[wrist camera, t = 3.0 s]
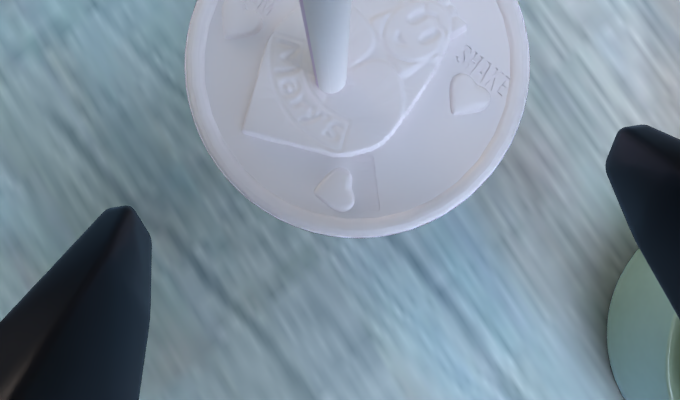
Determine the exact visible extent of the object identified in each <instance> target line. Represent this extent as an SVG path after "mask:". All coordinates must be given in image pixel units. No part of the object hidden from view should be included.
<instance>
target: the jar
mask: <svg viewBox="0 0 680 400" xmlns="http://www.w3.org/2000/svg"><path fill="white" fill-rule="evenodd" d="M607 348H608V354H609V361H610V365H611V368H612V371H613V375H614V378H615V381H616V383H617V385H618V387H619V390H620V392H621V394H622V396H623V397H624V399H625V400H680V319H679V318H678V316H677V314H676V312H675V311H674V309H673V307H672V305H671V303H670V302H669V300H668V298H667V296H666V295H665V293H664V291H663V289H662V288H661V286H660V284H659V282H658V281H657V279H656V277H655V275H654V274H653V272H652V270H651V268H650V267H649V265H648V263H647V261H646V259H645V258H644V256H643V254H642V252H641V251H640V249H638V250H637V251H636V252H635V254H634V255H633V256H632V258H631V259H630V261H629V262H628V263H627V265H626V267H625V268H624V270H623V272H622V274H621V276H620V278H619V280H618V282H617V285H616V287H615V290H614V293H613V295H612V299H611V303H610V308H609V312H608V321H607Z"/></svg>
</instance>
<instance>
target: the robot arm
mask: <svg viewBox="0 0 680 400" xmlns="http://www.w3.org/2000/svg"><path fill="white" fill-rule="evenodd" d="M606 173H607V176H608V178H609V180H610V183H611V185H612V188H613V190H614V192H615V195H616V197H617V199H618V202H619V204H620V207H621V209H622V211H623V214H624V216H625V218H626V221H627V223H628V226H629V228H630V230H631V232H632V235H633V237H634V239H635V241H636V243H637V245H638V247H639V249H640V251H641V252H642V254H643V256H644V258H645V259H646V261H647V263H648V265H649V267H650V268H651V270H652V272H653V274H654V275H655V277H656V279H657V281H658V282H659V284H660V286H661V288H662V289H663V291H664V293H665V295H666V296H667V298H668V300H669V302H670V303H671V305H672V307H673V309H674V311H675V312H676V314H677V316H678V318H679V319H680V139H677V138H675V137H673V136H670V135H668V134H666V133H664V132H661V131H659V130H657V129H655V128H652V127H650V126H648V125H636V126H630V127H624V128H622V129H620V130H619V131H618V133H617V135H616V137H615V140H614V142H613V145H612V147H611V150H610V152H609V155H608V157H607V160H606ZM151 259H152V243H151V237H150V235H149V233H148V231H147V229H146V228H145V226H144V224H143V223H142V221H141V219H140V218H139V216H138V215H137V213H136V211H135V210H134V209H133V208H132V207H131V206H120V207H114V208H109V209H107V210H105V211H104V212H103V213H102V214H101V215H100V216H99V217H98V218H97V219H96V221H95V222H94V223H93V224H92V225H91V226H90V227H89V228H88V229H87V230H86V231H85V232H84V233H83V234H82V236H81V237H80V238H79V239H78V240H77V241H76V242H75V243H74V244H73V245H72V246H71V247H70V248H69V249H68V250H67V252H66V253H65V254H64V255H63V256H62V257H61V258H60V259H59V260H58V261H57V262H56V263H55V264H54V265H53V266H52V268H51V269H50V270H49V271H48V272H47V273H46V274H45V275H44V276H43V277H42V278H41V279H40V280H39V281H38V282H37V284H36V285H35V286H34V287H33V288H32V289H31V290H30V291H29V292H28V293H27V294H26V295H25V296H24V297H23V298H22V300H21V301H20V302H19V303H18V304H17V305H16V306H15V307H14V308H13V309H12V310H11V311H10V312H9V313H8V314H7V316H6V317H5V318H4V319H3V320H2V321H1V322H0V400H139V394H140V387H141V380H142V373H143V366H144V359H145V352H146V345H147V338H148V331H149V322H150V308H151Z"/></svg>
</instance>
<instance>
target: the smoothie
mask: <svg viewBox="0 0 680 400" xmlns="http://www.w3.org/2000/svg"><path fill="white" fill-rule="evenodd" d="M529 79H530V53H529V42H528V36H527V30H526V26H525V22H524V18H523V15H522V11H521V8H520V6H519V3H518V1H517V0H197V2H196V4H195V7H194V10H193V14H192V17H191V20H190V24H189V29H188V33H187V39H186V48H185V82H186V91H187V96H188V102H189V106H190V110H191V113H192V117H193V120H194V123H195V125H196V128H197V131H198V133H199V136H200V138H201V140H202V142H203V144H204V146H205V148H206V150H207V152H208V153H209V155H210V156H211V158H212V159H213V161H214V162H215V164H216V166H217V167H218V168H219V169H220V171H221V172H222V173H223V175H224V176H225V177H226V178H227V179H228V181H229V182H230V183H231V184H232V185H233V186H234V187H235V188H236V189H237V190H238V191H239V192H240V193H241V194H243V195H244V196H245V197H246V198H247V199H248V200H250V201H251V202H252V203H253V204H255V205H256V206H258V207H259V208H261V209H262V210H263V211H265V212H266V213H268V214H270V215H272V216H274V217H275V218H277V219H279V220H281V221H283V222H285V223H288V224H290V225H292V226H294V227H297V228H300V229H303V230H306V231H309V232H312V233H317V234H321V235H326V236H332V237H340V238H374V237H383V236H388V235H394V234H398V233H402V232H405V231H409V230H412V229H415V228H417V227H420V226H423V225H425V224H428V223H430V222H432V221H434V220H436V219H438V218H440V217H442V216H443V215H445V214H446V213H448V212H450V211H451V210H453V209H454V208H456V207H457V206H459V205H460V204H461V203H462V202H464V201H465V200H466V199H468V198H469V197H470V196H471V195H472V194H473V193H474V192H475V191H476V190H477V189H479V188H480V187H481V186H482V185H483V184H484V182H485V181H486V180H487V179H488V178H489V177H490V175H491V174H492V173H493V172H494V170H495V169H496V168H497V166H498V165H499V163H500V162H501V161H502V159H503V158H504V156H505V154H506V152H507V151H508V149H509V147H510V145H511V143H512V141H513V139H514V137H515V135H516V132H517V130H518V128H519V125H520V122H521V119H522V116H523V113H524V109H525V104H526V100H527V95H528V87H529Z"/></svg>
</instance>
